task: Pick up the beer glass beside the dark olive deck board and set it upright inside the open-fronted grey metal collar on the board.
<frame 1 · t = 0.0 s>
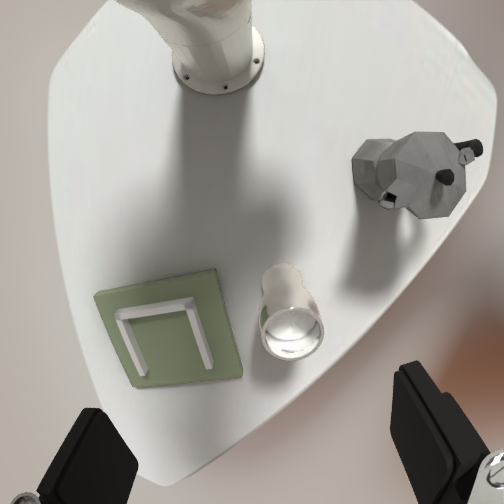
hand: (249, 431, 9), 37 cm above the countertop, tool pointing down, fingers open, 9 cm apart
coffeepot: (385, 165, 42), on the countertop
beer glass: (282, 282, 47), on the countertop
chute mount: (169, 332, 49), on the countertop
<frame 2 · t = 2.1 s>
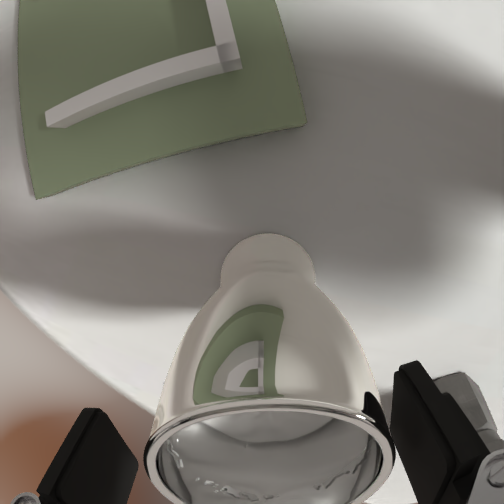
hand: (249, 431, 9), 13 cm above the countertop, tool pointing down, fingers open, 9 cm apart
coffeepot: (438, 412, 25), on the countertop
beer glass: (267, 277, 21), on the countertop
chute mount: (134, 24, 16), on the countertop
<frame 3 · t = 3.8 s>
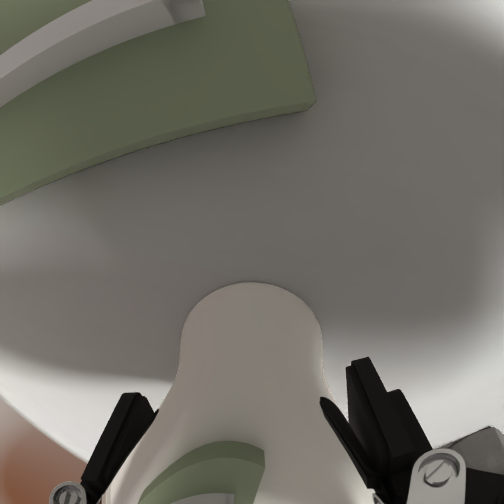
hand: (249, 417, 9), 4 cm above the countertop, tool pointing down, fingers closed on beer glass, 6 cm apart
coffeepot: (458, 467, 18), on the countertop
beer glass: (251, 343, 14), on the countertop, touching gripper
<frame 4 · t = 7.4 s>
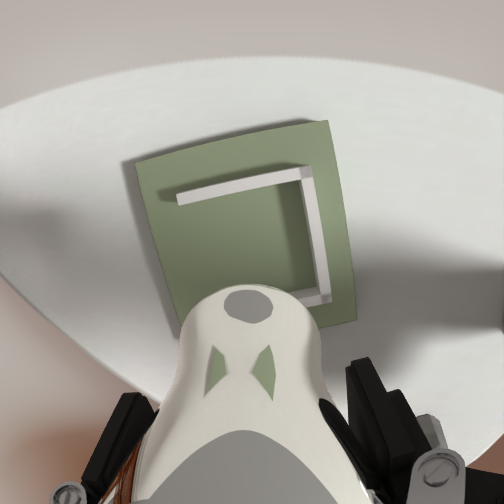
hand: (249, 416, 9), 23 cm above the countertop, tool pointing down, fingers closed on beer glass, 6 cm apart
coffeepot: (414, 435, 40), on the countertop
beer glass: (250, 344, 14), point 18 cm above the countertop, touching gripper
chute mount: (252, 240, 32), on the countertop
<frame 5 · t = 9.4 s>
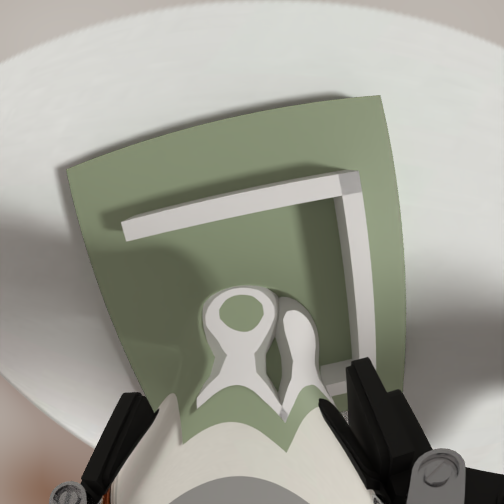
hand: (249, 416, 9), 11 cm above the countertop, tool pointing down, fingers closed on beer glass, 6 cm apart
beer glass: (249, 344, 14), point 6 cm above the countertop, touching gripper
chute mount: (254, 289, 20), on the countertop
when the fingers open (8 cm above the countertop, at t = 11.0 s): beer glass drops 2 cm, resting on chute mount.
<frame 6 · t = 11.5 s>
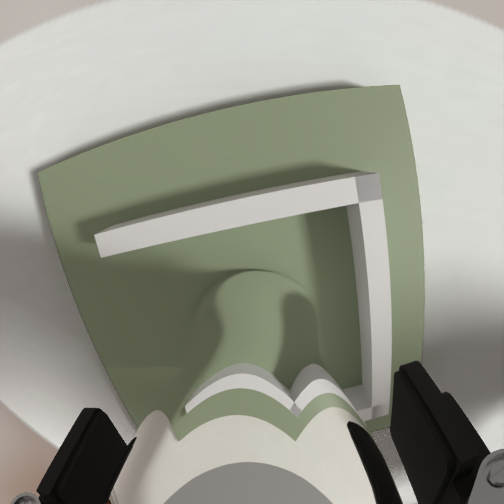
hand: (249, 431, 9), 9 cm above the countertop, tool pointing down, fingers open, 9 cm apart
beer glass: (255, 326, 15), point 2 cm above the countertop, touching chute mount
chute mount: (252, 308, 17), on the countertop
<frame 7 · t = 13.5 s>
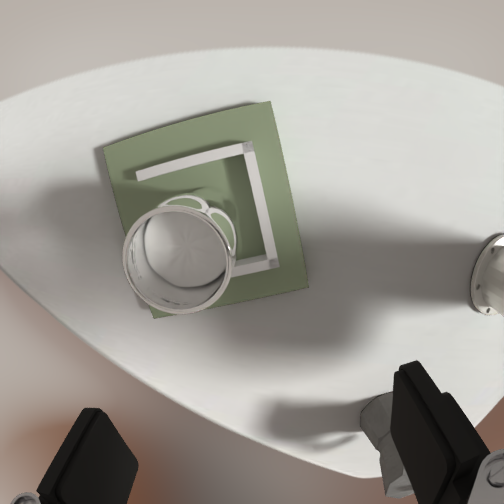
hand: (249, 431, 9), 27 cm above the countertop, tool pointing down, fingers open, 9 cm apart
coffeepot: (386, 413, 44), on the countertop
beer glass: (206, 217, 33), point 2 cm above the countertop, touching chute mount
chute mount: (207, 213, 34), on the countertop
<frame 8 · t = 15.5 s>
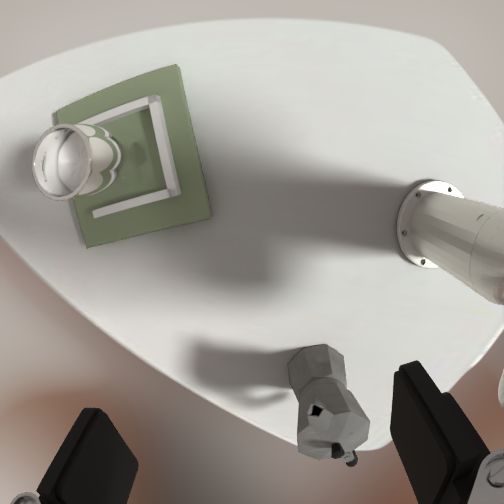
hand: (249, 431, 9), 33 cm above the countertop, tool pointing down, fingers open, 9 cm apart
coffeepot: (318, 371, 47), on the countertop
beer glass: (125, 158, 37), point 2 cm above the countertop, touching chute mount
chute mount: (129, 158, 38), on the countertop
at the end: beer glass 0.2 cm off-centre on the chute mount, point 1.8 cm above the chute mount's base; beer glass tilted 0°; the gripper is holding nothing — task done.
